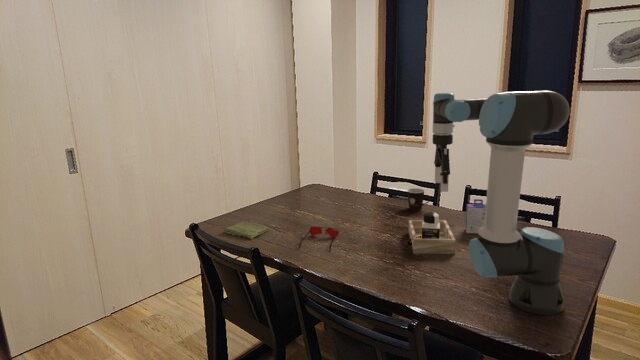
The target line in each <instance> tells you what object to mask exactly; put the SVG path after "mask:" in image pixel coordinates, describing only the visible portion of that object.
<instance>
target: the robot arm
mask: <svg viewBox="0 0 640 360" xmlns="http://www.w3.org/2000/svg"><path fill="white" fill-rule="evenodd" d="M432 103H433V104H432V106H433V108H432V109H433V110H432V113H433V115H432V116H433V117H432V118H433V119H432V121H433V122H432V144H433V145H434V146H435V152H434V153H435V154H434V160H433V161H434V162H433V164H434V183H435V184H437V183H439V184H440V192H441V193H442V192H444V193H445V192H449V180H450V178H449V177H450V176H449V175H451V169H450V168H451V167H450V149H449V148H448V146H449V145H453V143H454V141H453V138H454V135H453V133H454V128H455V127H456V125H455V124H454V123H463V122H464V121H478V126H479V131H480V133H481V135H482V136H483V137H485V142H486V144H487V145H488V146H490V157H489V168H488V179H487V180H488V181H487V190H486V198H485V199H486V202H485V204H486V210H485V221H484V226H482V227H481V228H480V229H479V230H478V233H477V237H474V238H471V239H470V240H469V243H468V255H469V259H470V261H471V265H472V267H473V269H474V270H475V272H476V273H477V274H478V275H479V276H480V277H482V278H495V279H497V278H499V277H500V278H501V277H513V276H516V277H515V279H514V281H513V283H512V285H511V287H510V288H509V295H508V300H509V301H510V303H511V304H512V305H513V306H515V308H516V307H517V308H518V309H519V310H522V311H524V312H527V313H530V314H535V315H539V316H554V315H558V314H559V313H562V311H563V310H564V308H565V307H564V306H565V299H564V294H563V291H562V290H563V289H562V287H561V284H560V283H561V275H562V265H563V257H564V253H565V241H564V239H563V238H562V236H560V235H559V234H558V233H555V232H553V231H550V230H548V229H545V228H539V227H530V226H529V227H528V226H526V227H523V228H522V229H521V231H520V232H519V230H517V224H518V215H519V205H520V197H521V188H522V180H523V172H524V164H525V163H524V162H525V157H526V156H525V155H526V150H527V149H528V148H529V147H530V146H531V147H532V145H533V141H534V140H533V139H534V136H536V135H546V134H550V133H554V132H556V131H558V130H559V129H560V128H562V127H563V126H564V125H565V124H566V123H567V121H568V119H569V116H570V111H571V109H570V105H569V101H567V99H566V98H565V96H564V95H562V94H560V93H558V92H556V91H552V90H534V91H532V90H531V91H530V90H529V91H528V90H527V91H505V92H504V91H503V92H498V93H497V92H496V93H493V94H491V95H489V96H488V97H485V98H470V99H469V98H468V99H467V98H466V99H465V98H463V99H455V94H454V92H441V93H440V92H439V93H437V92H436V93H435V94H434V96H433V102H432Z"/></svg>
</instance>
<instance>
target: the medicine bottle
mask: <svg viewBox="0 0 640 360" xmlns="http://www.w3.org/2000/svg"><path fill="white" fill-rule="evenodd" d="M439 218H440V217H439V214H438V213H437V212H433V211H428V212H425V213H424V214H423V220H424V221H423V222H422V239H440V223H439V220H440V219H439Z"/></svg>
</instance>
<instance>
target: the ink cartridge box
mask: <svg viewBox="0 0 640 360" xmlns="http://www.w3.org/2000/svg"><path fill="white" fill-rule="evenodd" d="M483 201H484V200H483V199H479V198H478V199H477V198H475V199H473V203H466V206H465V211H466V212H465V228H464V230H465V233H466V234H478V230H479V229H480V228H481V227H482V226H484V221H485V210H486V203H484V202H483Z"/></svg>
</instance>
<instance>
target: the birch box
mask: <svg viewBox="0 0 640 360" xmlns="http://www.w3.org/2000/svg"><path fill="white" fill-rule="evenodd" d="M423 221H424V219H408V236H410V237H411V241H410V243H411V242H412V245H411V249H412V254H413V255H414V254H415V255H417V254H419V255H421V254H422V255H426V254H427V255H456V238H455V236H454V234H453V232H452V230H451V227H450V226H449V223H448V222H447V220H446V219H439V223H440V239H422V238H416V236H422V222H423ZM410 237H409V238H410Z"/></svg>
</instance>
